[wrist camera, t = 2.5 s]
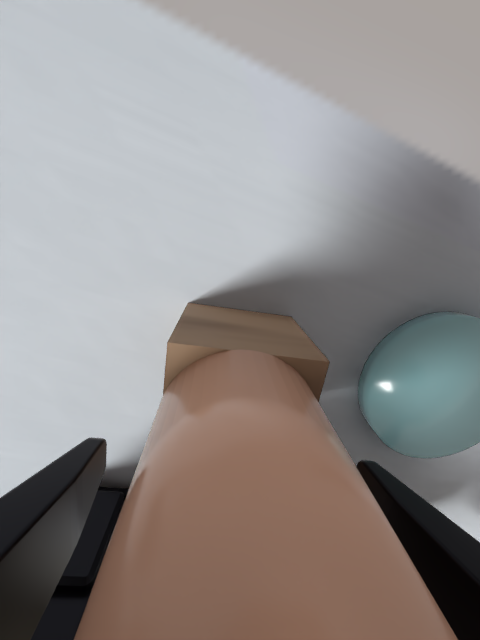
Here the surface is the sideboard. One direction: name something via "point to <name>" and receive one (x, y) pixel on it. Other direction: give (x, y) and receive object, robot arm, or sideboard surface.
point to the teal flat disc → (425, 386)
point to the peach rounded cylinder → (253, 524)
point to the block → (243, 341)
